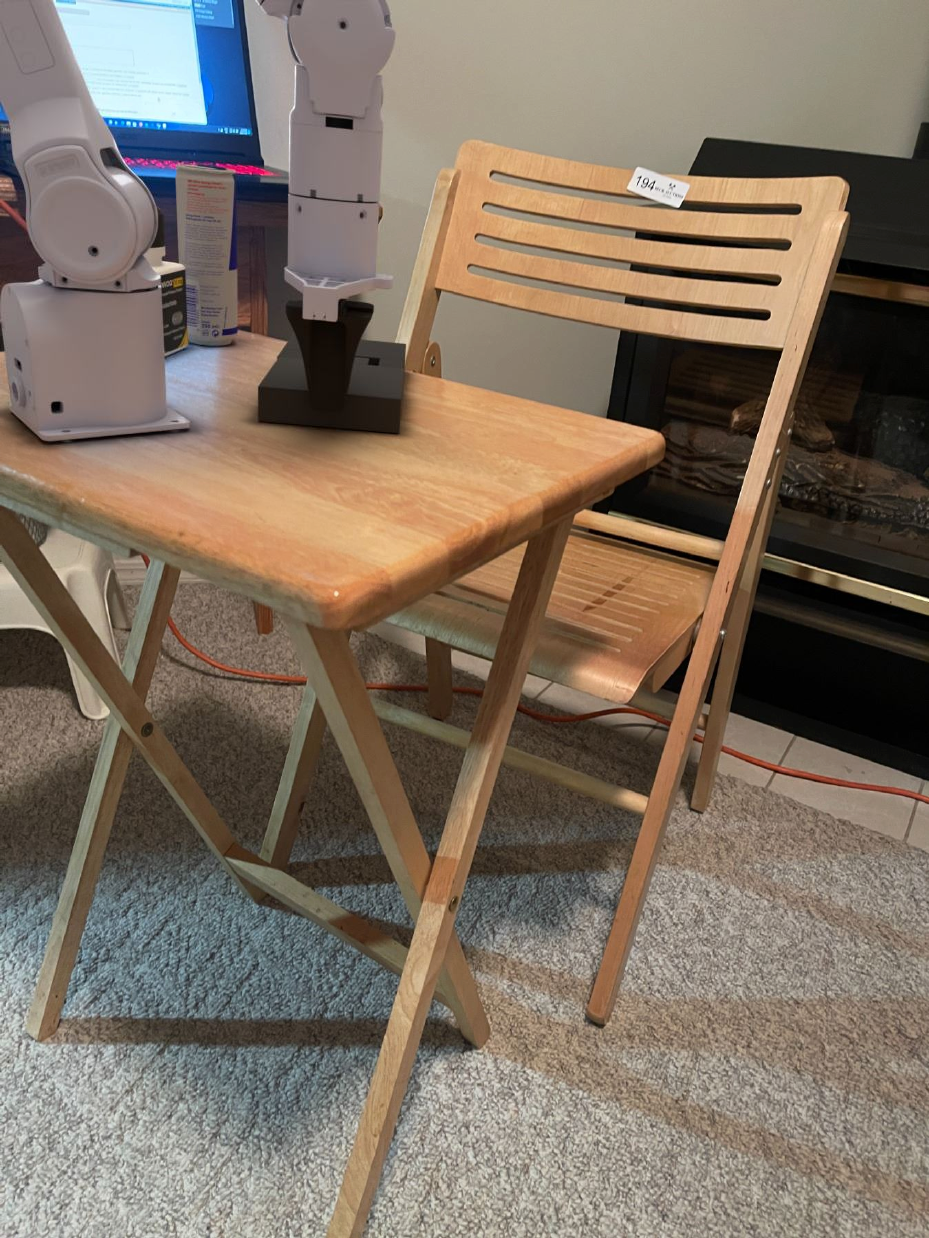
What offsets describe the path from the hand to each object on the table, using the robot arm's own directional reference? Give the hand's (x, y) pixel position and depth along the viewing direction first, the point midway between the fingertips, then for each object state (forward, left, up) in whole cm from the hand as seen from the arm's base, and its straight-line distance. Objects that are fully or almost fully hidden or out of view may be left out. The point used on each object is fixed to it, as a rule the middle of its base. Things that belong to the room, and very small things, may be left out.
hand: (327, 410), depth 65 cm
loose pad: (+4, +6, -1) cm, 7 cm away
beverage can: (+4, +29, -2) cm, 29 cm away
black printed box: (-4, +27, -2) cm, 27 cm away
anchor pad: (+9, +13, -1) cm, 16 cm away
